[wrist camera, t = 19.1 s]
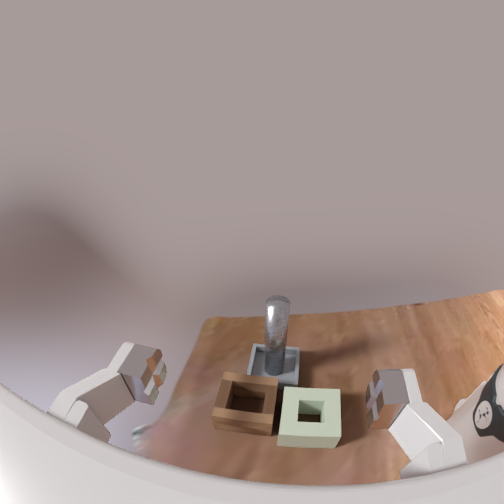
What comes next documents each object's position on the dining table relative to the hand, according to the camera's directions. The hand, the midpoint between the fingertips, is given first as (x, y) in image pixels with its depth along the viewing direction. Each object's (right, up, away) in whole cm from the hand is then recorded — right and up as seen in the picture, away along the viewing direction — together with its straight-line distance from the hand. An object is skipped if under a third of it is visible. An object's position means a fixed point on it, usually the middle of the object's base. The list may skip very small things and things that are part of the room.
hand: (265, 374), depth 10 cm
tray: (+3, -15, +35) cm, 38 cm away
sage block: (+7, -20, +26) cm, 34 cm away
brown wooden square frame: (-1, -19, +28) cm, 34 cm away
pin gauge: (+3, -15, +35) cm, 38 cm away
